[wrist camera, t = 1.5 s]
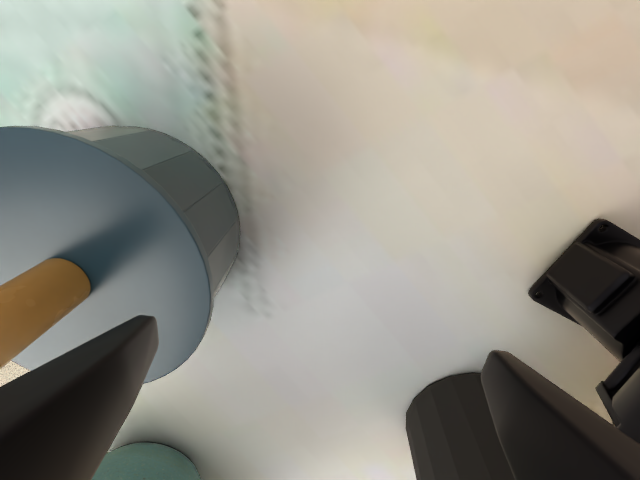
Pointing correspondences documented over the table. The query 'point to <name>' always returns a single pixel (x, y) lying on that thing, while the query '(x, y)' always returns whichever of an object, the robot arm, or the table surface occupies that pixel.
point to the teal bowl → (146, 464)
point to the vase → (455, 433)
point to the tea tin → (182, 187)
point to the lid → (92, 252)
